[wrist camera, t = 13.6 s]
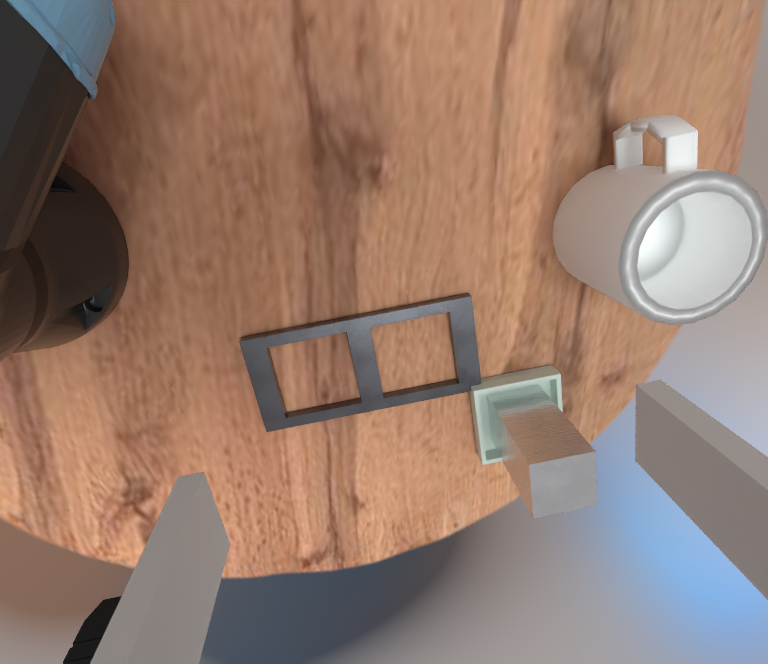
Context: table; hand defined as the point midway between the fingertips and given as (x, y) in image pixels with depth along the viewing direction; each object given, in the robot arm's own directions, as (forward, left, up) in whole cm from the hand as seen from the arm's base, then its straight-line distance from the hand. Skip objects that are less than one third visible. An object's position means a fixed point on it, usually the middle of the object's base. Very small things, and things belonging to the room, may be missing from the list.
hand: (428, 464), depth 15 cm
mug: (+21, 0, -29) cm, 36 cm away
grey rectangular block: (+11, -17, -28) cm, 35 cm away
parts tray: (+11, -17, -29) cm, 35 cm away
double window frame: (-2, -9, -29) cm, 30 cm away
